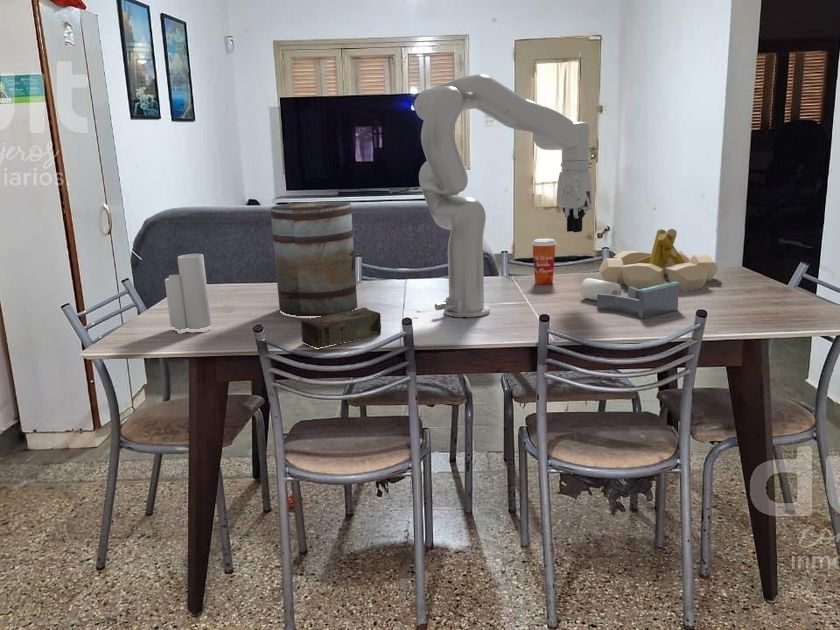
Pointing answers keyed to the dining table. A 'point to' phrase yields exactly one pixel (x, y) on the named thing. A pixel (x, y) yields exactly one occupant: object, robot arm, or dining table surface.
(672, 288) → the holder
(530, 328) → the dining table surface
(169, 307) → the vase
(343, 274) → the barrel
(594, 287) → the roll
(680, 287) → the campfire
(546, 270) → the paper cup
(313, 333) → the olive brown box
